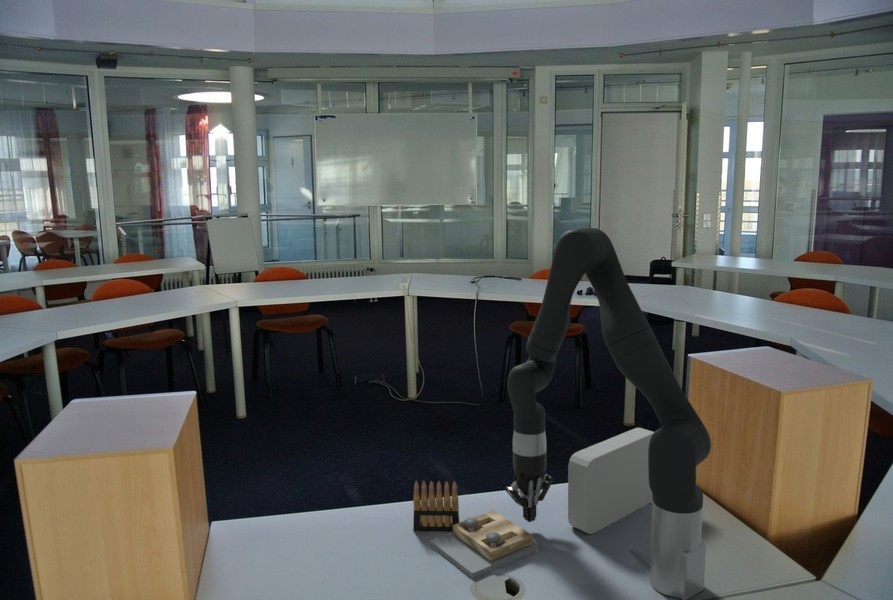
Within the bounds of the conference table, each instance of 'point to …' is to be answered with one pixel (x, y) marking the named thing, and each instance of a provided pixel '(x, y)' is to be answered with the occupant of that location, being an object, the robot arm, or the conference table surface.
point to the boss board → (476, 552)
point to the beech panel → (496, 523)
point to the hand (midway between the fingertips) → (529, 519)
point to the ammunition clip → (435, 508)
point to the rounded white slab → (609, 480)
